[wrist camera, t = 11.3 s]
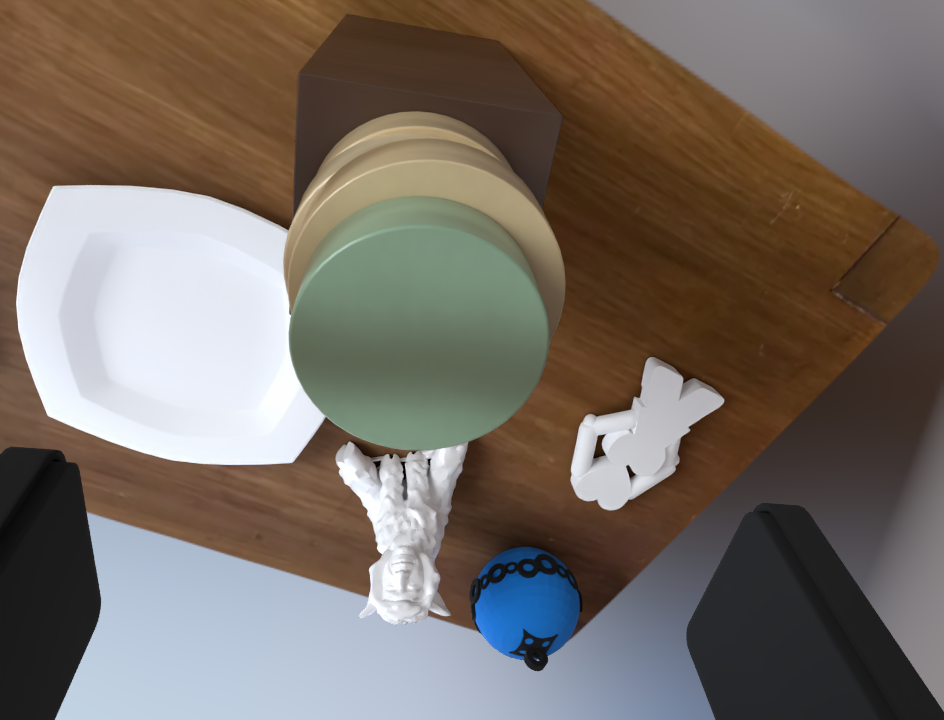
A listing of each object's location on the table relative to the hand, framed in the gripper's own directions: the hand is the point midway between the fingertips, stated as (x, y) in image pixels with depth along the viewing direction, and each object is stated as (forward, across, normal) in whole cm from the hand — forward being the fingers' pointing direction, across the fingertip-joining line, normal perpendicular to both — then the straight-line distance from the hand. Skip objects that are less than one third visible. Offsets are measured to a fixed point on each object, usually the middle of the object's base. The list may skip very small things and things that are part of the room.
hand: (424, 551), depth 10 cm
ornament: (+32, -13, +35) cm, 50 cm away
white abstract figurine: (+32, -19, +21) cm, 43 cm away
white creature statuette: (+32, -3, +27) cm, 43 cm away
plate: (+33, +12, +16) cm, 38 cm away
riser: (+33, 0, +1) cm, 33 cm away
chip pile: (+15, 0, +1) cm, 15 cm away
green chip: (+9, 0, +1) cm, 9 cm away
